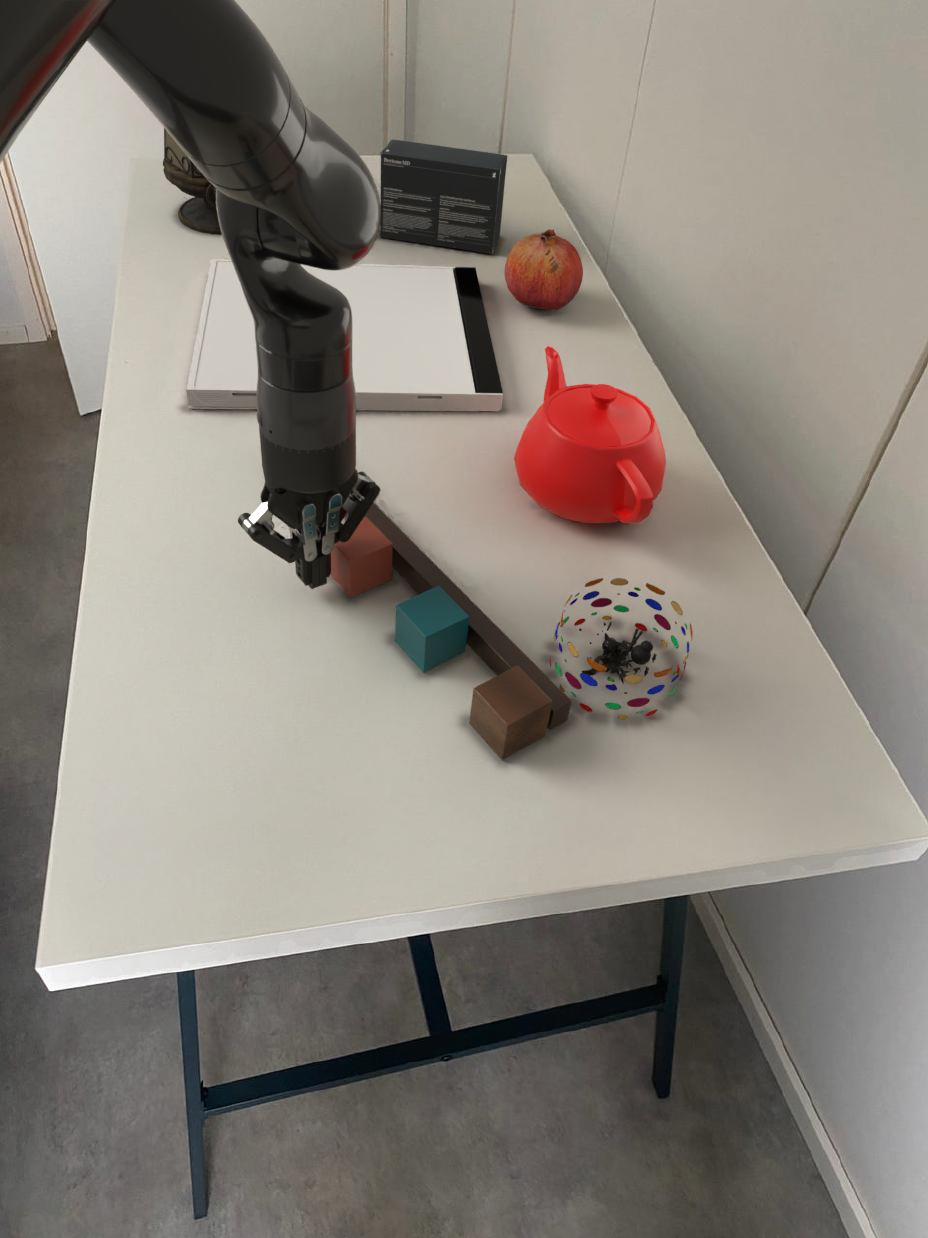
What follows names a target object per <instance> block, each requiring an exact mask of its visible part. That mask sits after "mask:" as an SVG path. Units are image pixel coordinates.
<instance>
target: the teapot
mask: <svg viewBox="0 0 928 1238" xmlns="http://www.w3.org/2000/svg"><path fill="white" fill-rule="evenodd" d="M544 353H545V360H546V367H547V379H546V383H545V388H544V391H543V392H544V393H543V401H542V404H541V405H540V406H539V408H537V410H536V411H535V413H534V414H533V415H532V417H530V419H529V420H528V422H527V423H526V426H525V428H524V430H523V431H522V433H521V436H520V439H519V441H518V444H517V446H516V450H515V453H514V457H513V460H514V466H515V470H516V474H517V477H518V481H519V484H520V486H521V488H523V490H524V491H525V492H526V493H527V494H528V495H529V496H530V497H531V498H532V499H533V500H534V502H536V503H537V504H538V506H539V507H540V508H542V509H545V510H546V511H548V512H550V513H552V514H554V515H556V516H558V517H560V518H562V519H565V520H570V521H574V522H578V523H583V524H611V523H616V522H619V521H620V522H621V523H622V524H638V523H641V522H643V521H644V520H645V519H646V518H648V517H649V516H650V514H651V513H652V510H653V508H654V501H655V500H656V499H657V497H658V496H659V495H660V493H661V492H662V490H663V483H664V478H665V473H666V466H667V461H666V458H667V457H666V449H665V447H664V443H663V439H662V435H661V431H660V428H659V426H658V422H657V420H656V418H655V415H654V414H653V411H652V410H651V408H650V406H648V405H647V404H646V403H645V402H643V400H641V399H640V398H639V397H637V396H636V395H633V394H631V393H629V392H627V391H624V390H623V389H620V388H617V387H614V386H612V385H610V384H606V383H597V384H595V383H582V384H574V385H568V386H567V382H566V377H565V372H564V367H563V364H562V363H563V362H562V360H561V359H562V358H561V356H560V354H559V352H558V351H557V350H556V349H555V348H554V347H552V346H549V345H548V346H546V347H545V348H544Z"/></svg>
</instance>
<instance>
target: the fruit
mask: <svg viewBox="0 0 928 1238" xmlns="http://www.w3.org/2000/svg"><path fill="white" fill-rule="evenodd" d="M583 277H584V267H583V262H582V259H581V256H580V253H579V252H578V250H577V248H576V247H575V246H574V245H573V244H572V243H571V242H570V241H569V240H568V239H566V238H563V237H561V236H560V235H557V233H556V232H555V228H554V229H551V228H550V229H547V230H545V231H544V232H541V233H533V234H529V235H527V236H524V237H523V238H521V239H520V240H519V241H517V242H516V243H515V244H514V245H513V246H512V248H511V249H510V251H509V253H508V255H507V257H506V262H505V265H504V280H505V283H506V287H507V289H508V291H509V292H510V294H511V296H513V297H514V299H515V300H516V301H517V302H519V303H520V304H521V305H524V306H527V307H529V308H535V309H539V310H544V311H558V310H561V309H562V308H565V306H567V305H568V304H569V303H570V302H571V301H573V299H574V298H575V297H576V296H577V294H578V293H579V291H580V290H581V289H580V288H581V286H582V282H583V279H584V278H583Z"/></svg>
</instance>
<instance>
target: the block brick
mask: <svg viewBox="0 0 928 1238" xmlns="http://www.w3.org/2000/svg"><path fill="white" fill-rule="evenodd" d="M392 546H393V544H392V543H391V542H390V541H389V540H388V539H387V538H386V537H385V536H384V534H383V533H382V532H381V531H380V530H379V529H378V528H377V527H376V526H375V525H374V524H373V523H372V522H371V521H370V520H369V519H368V518H367V517H364V518H363V519H362V521H361V522H360V524H359V525H358V527H357V528H356V530H355V532H354V533H353V535H352V536H351V538H350V539H349V540H348V541H346V542H341V541H339V542H337V543H336V544H335V545H334V549H333V551H332V552H331V573H330V576H331V577H332V578H333V580H335V582H336V583H337V584H338V585H339V586H340V587H341V588H342V590H343V591H344V592H345V593H346V594H347V595H348V597H350V598H353V597H356V596H357V595H360V594H363V593H365V592H368V591H370V590H372V589H373V588H376V587H378V586H382V585H383V584H385V583H387V582H390V581H392V579H393V566H392Z"/></svg>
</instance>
